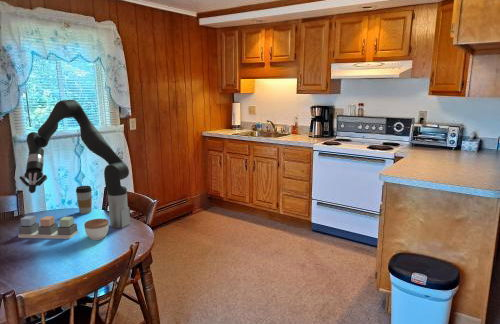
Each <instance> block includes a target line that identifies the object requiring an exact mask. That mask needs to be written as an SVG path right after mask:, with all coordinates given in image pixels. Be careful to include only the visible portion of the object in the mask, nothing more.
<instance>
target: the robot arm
mask: <svg viewBox="0 0 500 324" xmlns="http://www.w3.org/2000/svg"><path fill="white" fill-rule="evenodd" d="M70 118H73V119H74V120H75V121H76V122H77V124H78V126H79V131H80V133H79V134H80V139H81V141H82V142H83V143H84V145H85V146H86V148H87V149H88V150H89V151H90V152H92V153H93V154H95V155H96V156H98V157H100V158H101V159H103V160H105V162H106V163H107V165H106V166H105V167H104V170H103V171H104V172H103V176H104V177H103V178H104V185H105V189H106V191H107V200H108V201H107V202H108V213H109V214H108V215H109V227H110V228H112V229H120V228H121V229H123V228H125V227H127V226H129V225H131V214H130V213H131V212H130V207H129V206H128V192H127V191H128V189H127V187H126V186H123V185H122V184H121V180H125V179H126V178H128V177H129V175H130V170H129V167H128V166H127V164H126V163H125V161H123V159H122V158H121V157H120V156H119V155H118V154H117V153H116V152H115V151H114V149H113V148H112V147H111V146H110V144H109V143H108V142H107V141H106V140H105V138H104V136H103V135H102V134H101V133H100V131H99V130H98V129H97V128H96V127H95V124H94V123H92V122H93V121H92V120H90V118H89V116H88V115H87V113H86V112H85V110H84V108H83V107H82V105H81V104H80V103H79V102H78V101H77V100H75V99H63V100H59V101H57V103H55V105H54V107H53V109H51V112H50V114H49V116H48V117H47V119H46V120H45V122H43V124H41V126H40V127H38V128H37V129H38V130H37V131H31V132H29V133H28V134H27V135H26V143H27V148H28V157H27V160H26V167H25V169H26V170H25V173H24V175H21V176H19V180H20V181H21V183H23V185H24V186H26V187H28V192H29V193H30V194H35V192H36V190H37V186H38V187H40V186H42V185H43V184H44V183H45V181H47V179H48V176H47V174H44V172H43V170H44V155H45V149H44V148H46V147H47V146H48V145H49V141H50V139H51V137H52V136H53V135H54V134H55V133H56V132H57V131H58V128H59V123H60V122H61V121H62V120H64V119H70ZM27 180H28V181H27Z"/></svg>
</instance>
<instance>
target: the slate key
mask: <svg viewBox="0 0 500 324" xmlns="http://www.w3.org/2000/svg"><path fill="white" fill-rule="evenodd" d="M35 223H37V219H36V215H25V216H24V217H21V218H20V226H31V225H33V224H35Z"/></svg>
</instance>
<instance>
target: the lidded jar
mask: <svg viewBox="0 0 500 324" xmlns="http://www.w3.org/2000/svg"><path fill="white" fill-rule="evenodd" d="M109 227H110V220H109V219H106V218H94V219H89V220H87V221H86V222H84V230H85V234H86V236H87V237H88V238H90V240H91V241H100V240H102V239H104V238H105V237H106V235H107V234H108V232H109Z"/></svg>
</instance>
